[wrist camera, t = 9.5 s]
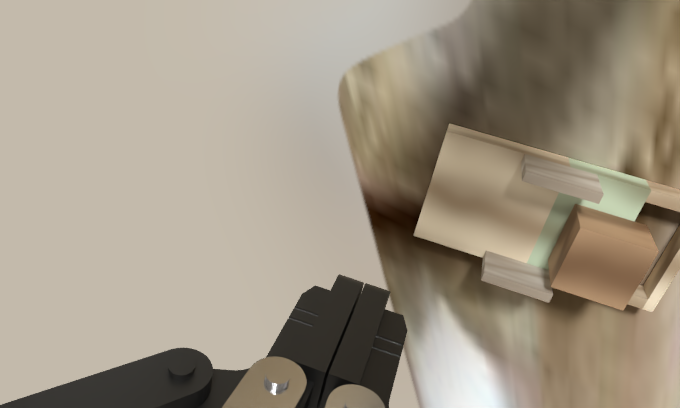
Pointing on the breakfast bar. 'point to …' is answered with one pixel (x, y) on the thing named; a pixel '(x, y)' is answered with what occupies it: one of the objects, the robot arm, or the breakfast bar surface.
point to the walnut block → (601, 256)
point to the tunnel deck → (530, 209)
